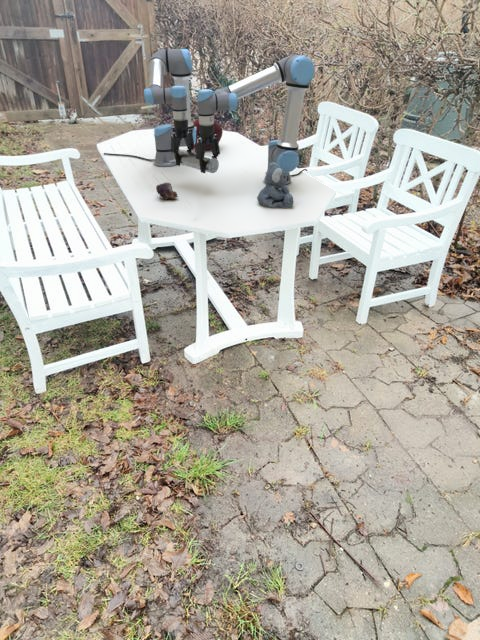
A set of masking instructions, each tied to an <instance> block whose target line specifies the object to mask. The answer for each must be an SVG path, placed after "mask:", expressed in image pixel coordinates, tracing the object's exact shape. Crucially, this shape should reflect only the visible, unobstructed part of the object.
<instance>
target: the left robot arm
mask: <svg viewBox="0 0 480 640" xmlns="http://www.w3.org/2000/svg"><path fill="white" fill-rule="evenodd" d="M192 61H193V60H192V56H191V52H190V50H189V49H187V48H163V49H159V50H158V51H156V52H154V53H153V54H152V55H151V56H150V57H149V60H148V63H147V69H148V71H149V76H148V88H144V89H143V99H144V103H145V104H146V105H152V106H153V105H171V106H172V119H173V125H172V124H168V123H166V124H162V125H158V126H156V127H155V128H154V129H153V133H154V134H153V136H154V142H155V143H154V145H155V155H154V158H153V159H151V158H146V157H143V156H142V157H141V156H139V155H133V154H123V153H109V152H103V155H106V156H107V155H108V156H122V157H130V158H131V157H132V158H138V159H140V160H145V161H148V162H149V161H150V162H154V165H155V166H157V167H163V168H164V167H165V168H167V167H168V168H169V167H174V166H178V167H181V165H180V154H179V153H178V151H179V149H180V148H181V147H182V148H183V147H187V149H186V151H189V152H193V151H194V149H195V146H194V145H195V143H196V127H195V126H194V122H193V121H192V110H191V109H192V108H191V96H190V93H191V92H190V82H189V81H190V80H189V79H190V78H191V76H192V73H193V72H194V69H193V68H194V67H193V62H192ZM165 73H170V76H171V77H172V79H173V83H174V85H173V86H171V87H164V74H165ZM174 156H175V160H176V162H175V161H174Z"/></svg>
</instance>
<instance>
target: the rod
mask: <svg viewBox="0 0 480 640" xmlns="http://www.w3.org/2000/svg"><path fill="white" fill-rule="evenodd" d="M178 153H179V154H180V166H185V167H188V168H191V169H194V170H199V171H201V168H200V164H199V160H198V159H196V152H193V151H192V152H189V151H187V150H185V149H180V148H179V151H178ZM203 160H205V173H206V172H207V173H210V174H215V173H216V172H217V171H218V169H219V167H220V164H219V163H220V162H219V160H218V158H217V159H216V158H214V157H212V156H209V155H205V154H204V159H203ZM174 161H175V162H176V160H175V156H174Z"/></svg>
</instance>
